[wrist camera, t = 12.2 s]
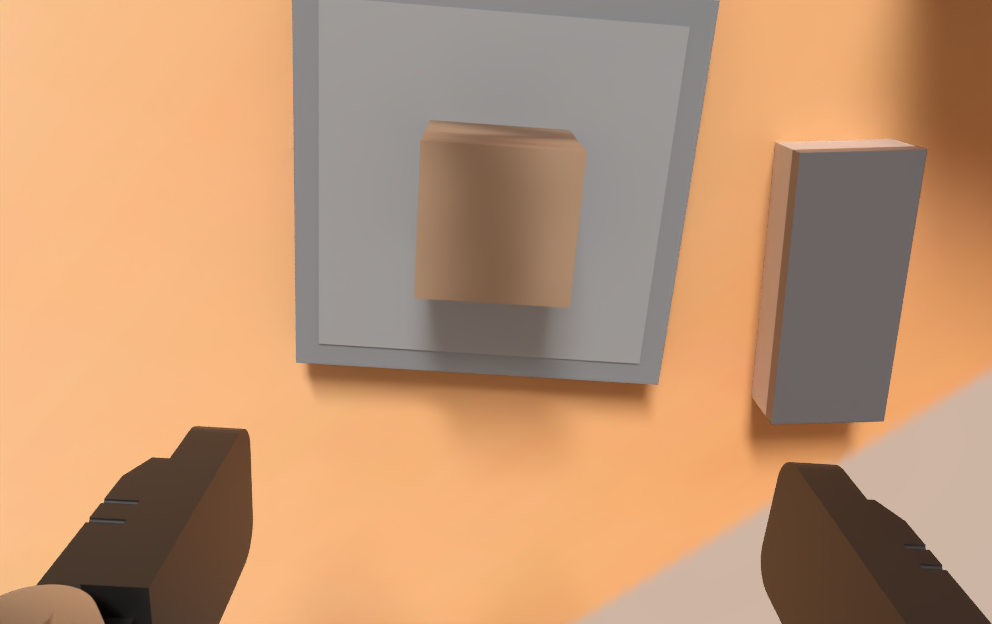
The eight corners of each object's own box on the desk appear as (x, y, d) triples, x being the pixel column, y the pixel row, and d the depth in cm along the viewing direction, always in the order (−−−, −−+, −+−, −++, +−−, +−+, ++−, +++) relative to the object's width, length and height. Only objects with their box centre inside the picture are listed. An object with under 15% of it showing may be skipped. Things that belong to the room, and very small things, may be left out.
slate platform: (705, 1, 32) (720, 0, 30) (649, 366, 38) (658, 385, 36) (303, -32, 31) (291, -35, 29) (305, 344, 37) (295, 363, 35)
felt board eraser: (772, 140, 34) (800, 152, 31) (888, 137, 34) (927, 149, 31) (749, 392, 39) (771, 424, 36) (852, 389, 39) (883, 421, 36)
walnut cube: (569, 130, 32) (587, 151, 26) (555, 263, 34) (569, 307, 28) (430, 120, 31) (420, 140, 26) (424, 254, 33) (414, 298, 28)
